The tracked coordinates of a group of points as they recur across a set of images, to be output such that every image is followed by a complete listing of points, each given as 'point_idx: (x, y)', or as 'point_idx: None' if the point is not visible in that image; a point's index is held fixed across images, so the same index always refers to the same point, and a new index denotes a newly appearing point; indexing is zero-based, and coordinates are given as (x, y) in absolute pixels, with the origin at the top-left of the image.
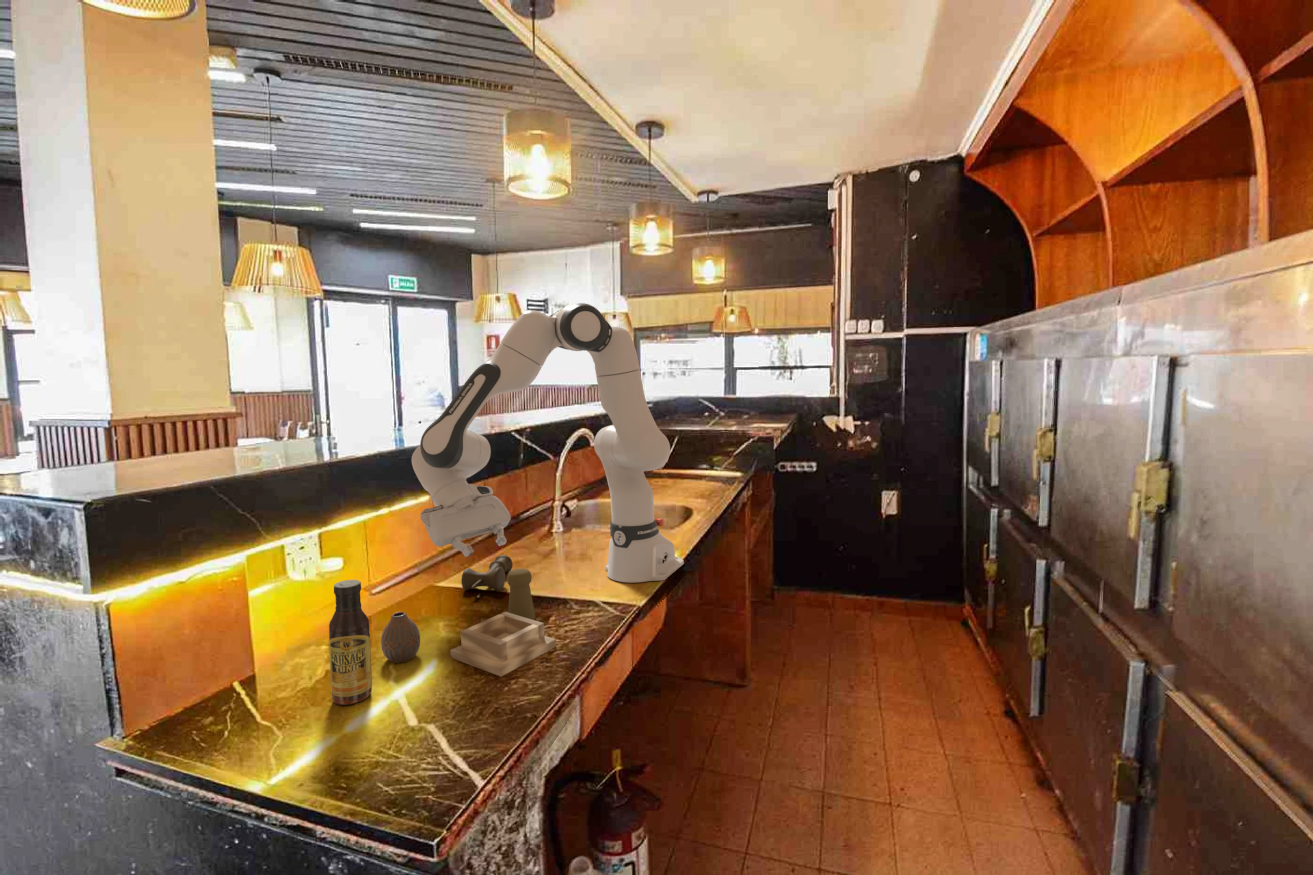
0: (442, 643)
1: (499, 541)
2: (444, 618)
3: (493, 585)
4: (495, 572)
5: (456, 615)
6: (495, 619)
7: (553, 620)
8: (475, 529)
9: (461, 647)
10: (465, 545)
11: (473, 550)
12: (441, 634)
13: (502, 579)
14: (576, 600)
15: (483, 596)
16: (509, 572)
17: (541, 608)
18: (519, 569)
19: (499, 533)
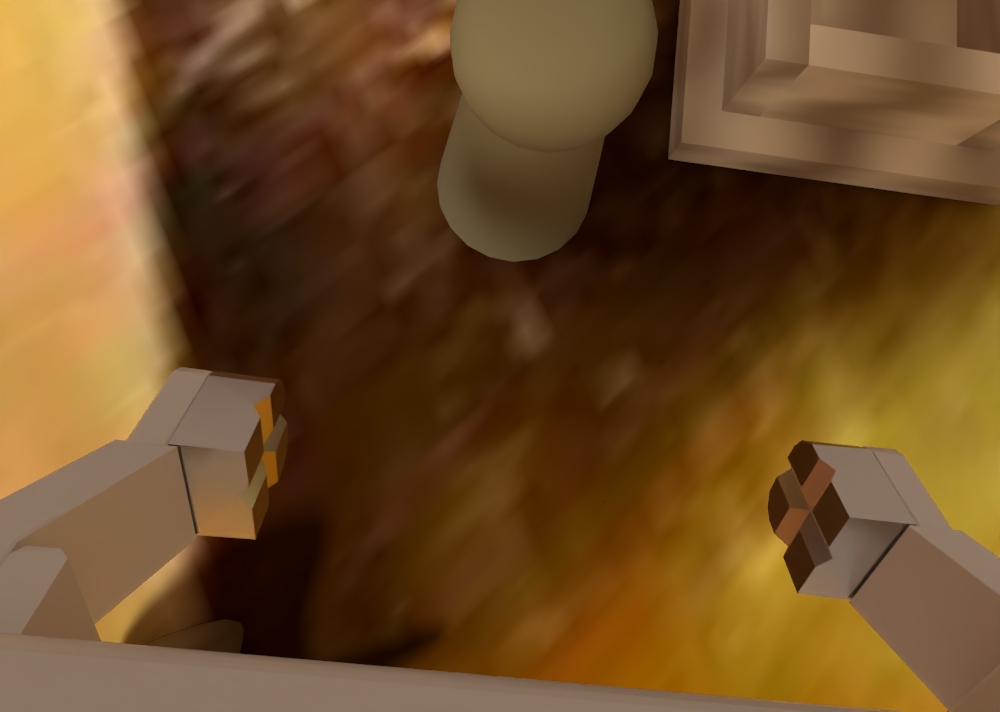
0: (922, 355)
1: (264, 443)
2: (706, 607)
3: (240, 647)
4: None
5: (642, 574)
6: (872, 38)
7: None
8: (708, 695)
9: (983, 162)
10: (944, 537)
11: (809, 445)
12: (857, 444)
13: None
14: (153, 59)
15: None
16: (616, 76)
17: (344, 176)
18: (549, 6)
19: (109, 541)
